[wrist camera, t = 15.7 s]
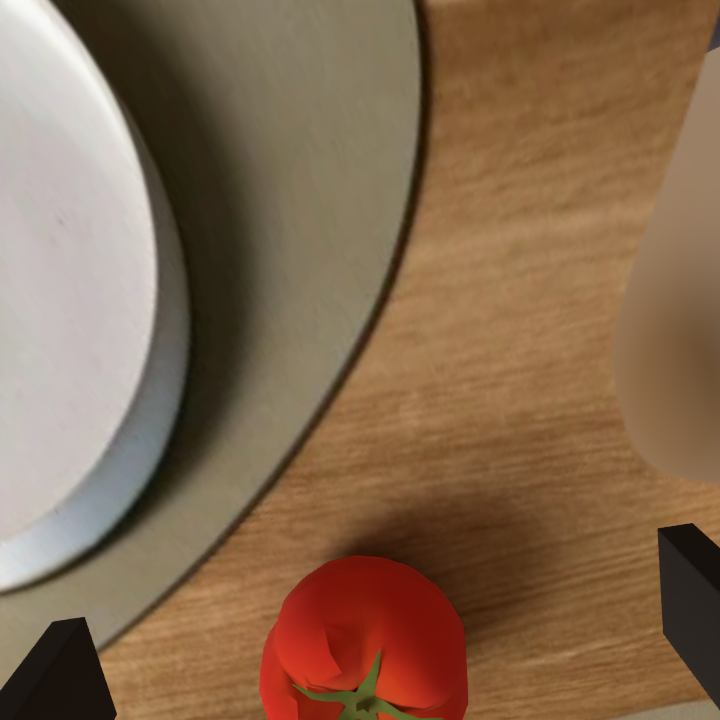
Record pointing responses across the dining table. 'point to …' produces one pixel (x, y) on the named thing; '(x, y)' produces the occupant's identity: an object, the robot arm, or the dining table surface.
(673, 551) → the robot arm
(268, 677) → the tomato
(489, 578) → the dining table surface
